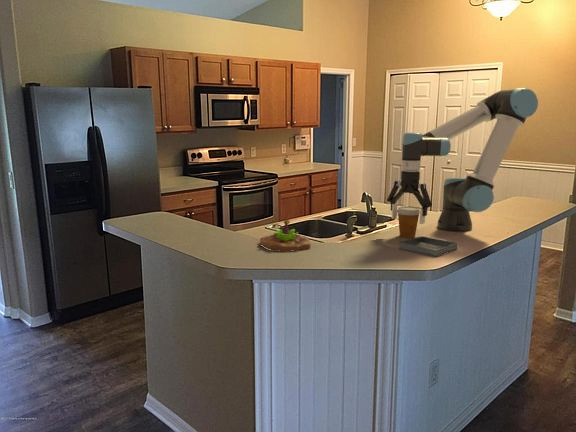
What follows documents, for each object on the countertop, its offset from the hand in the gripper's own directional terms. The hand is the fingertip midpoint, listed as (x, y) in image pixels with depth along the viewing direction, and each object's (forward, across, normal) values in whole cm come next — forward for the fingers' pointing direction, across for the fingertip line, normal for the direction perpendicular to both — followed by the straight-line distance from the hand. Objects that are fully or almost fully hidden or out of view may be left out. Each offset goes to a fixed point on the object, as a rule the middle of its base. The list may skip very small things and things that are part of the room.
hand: (407, 221), depth 202 cm
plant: (+8, -25, -47) cm, 54 cm away
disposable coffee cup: (+7, 0, 0) cm, 7 cm away
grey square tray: (+7, +17, -12) cm, 22 cm away
